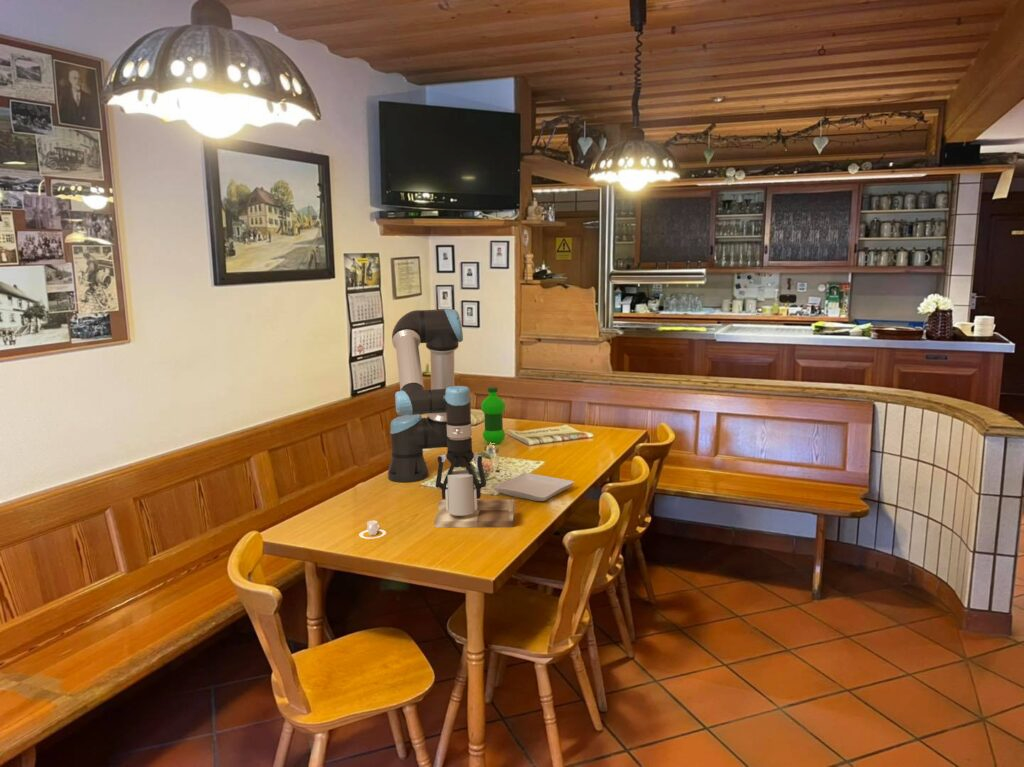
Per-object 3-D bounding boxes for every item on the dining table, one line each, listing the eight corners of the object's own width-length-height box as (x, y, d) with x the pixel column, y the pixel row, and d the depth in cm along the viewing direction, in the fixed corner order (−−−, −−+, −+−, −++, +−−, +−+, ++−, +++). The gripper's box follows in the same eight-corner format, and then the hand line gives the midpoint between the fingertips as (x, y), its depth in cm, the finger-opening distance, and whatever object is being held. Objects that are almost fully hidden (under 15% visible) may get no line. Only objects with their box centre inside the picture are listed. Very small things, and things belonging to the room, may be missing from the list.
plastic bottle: (505, 445, 323) (504, 389, 319) (481, 446, 324) (479, 389, 320) (506, 440, 333) (505, 385, 329) (483, 440, 334) (481, 386, 329)
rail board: (434, 527, 225) (433, 511, 224) (439, 515, 236) (438, 500, 235) (513, 527, 224) (512, 511, 223) (514, 514, 235) (514, 499, 234)
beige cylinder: (470, 505, 234) (469, 468, 232) (478, 513, 227) (477, 475, 225) (445, 509, 231) (444, 472, 229) (453, 517, 224) (451, 478, 222)
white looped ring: (369, 528, 227) (369, 515, 226) (392, 531, 224) (391, 518, 223) (353, 538, 219) (353, 525, 218) (377, 541, 216) (376, 528, 215)
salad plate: (576, 489, 260) (576, 480, 260) (544, 506, 243) (544, 496, 242) (525, 480, 272) (525, 471, 272) (492, 496, 255) (491, 486, 254)
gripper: (423, 440, 222) (426, 513, 226) (492, 439, 221) (494, 512, 225) (427, 434, 229) (430, 505, 233) (494, 433, 228) (496, 504, 232)
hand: (461, 508), depth 229 cm, fingers closed on beige cylinder, 8 cm apart
